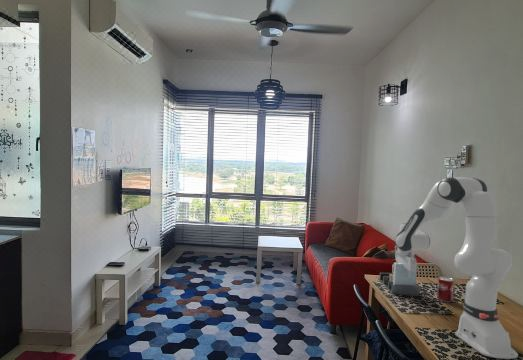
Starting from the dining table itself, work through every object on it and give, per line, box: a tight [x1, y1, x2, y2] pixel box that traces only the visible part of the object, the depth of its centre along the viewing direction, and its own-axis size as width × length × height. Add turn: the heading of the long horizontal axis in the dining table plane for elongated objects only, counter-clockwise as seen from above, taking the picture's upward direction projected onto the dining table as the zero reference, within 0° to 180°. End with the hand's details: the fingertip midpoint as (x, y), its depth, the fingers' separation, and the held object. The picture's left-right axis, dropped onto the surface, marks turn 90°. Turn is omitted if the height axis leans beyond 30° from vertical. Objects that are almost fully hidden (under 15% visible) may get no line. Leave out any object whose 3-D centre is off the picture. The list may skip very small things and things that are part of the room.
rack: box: [378, 272, 421, 296], centre depth 186 cm, size 22×16×5 cm
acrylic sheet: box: [393, 262, 418, 286], centre depth 177 cm, size 2×12×16 cm, turn 88°
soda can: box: [436, 276, 455, 303], centre depth 169 cm, size 7×7×12 cm
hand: (404, 274), depth 177 cm, fingers open, 8 cm apart
